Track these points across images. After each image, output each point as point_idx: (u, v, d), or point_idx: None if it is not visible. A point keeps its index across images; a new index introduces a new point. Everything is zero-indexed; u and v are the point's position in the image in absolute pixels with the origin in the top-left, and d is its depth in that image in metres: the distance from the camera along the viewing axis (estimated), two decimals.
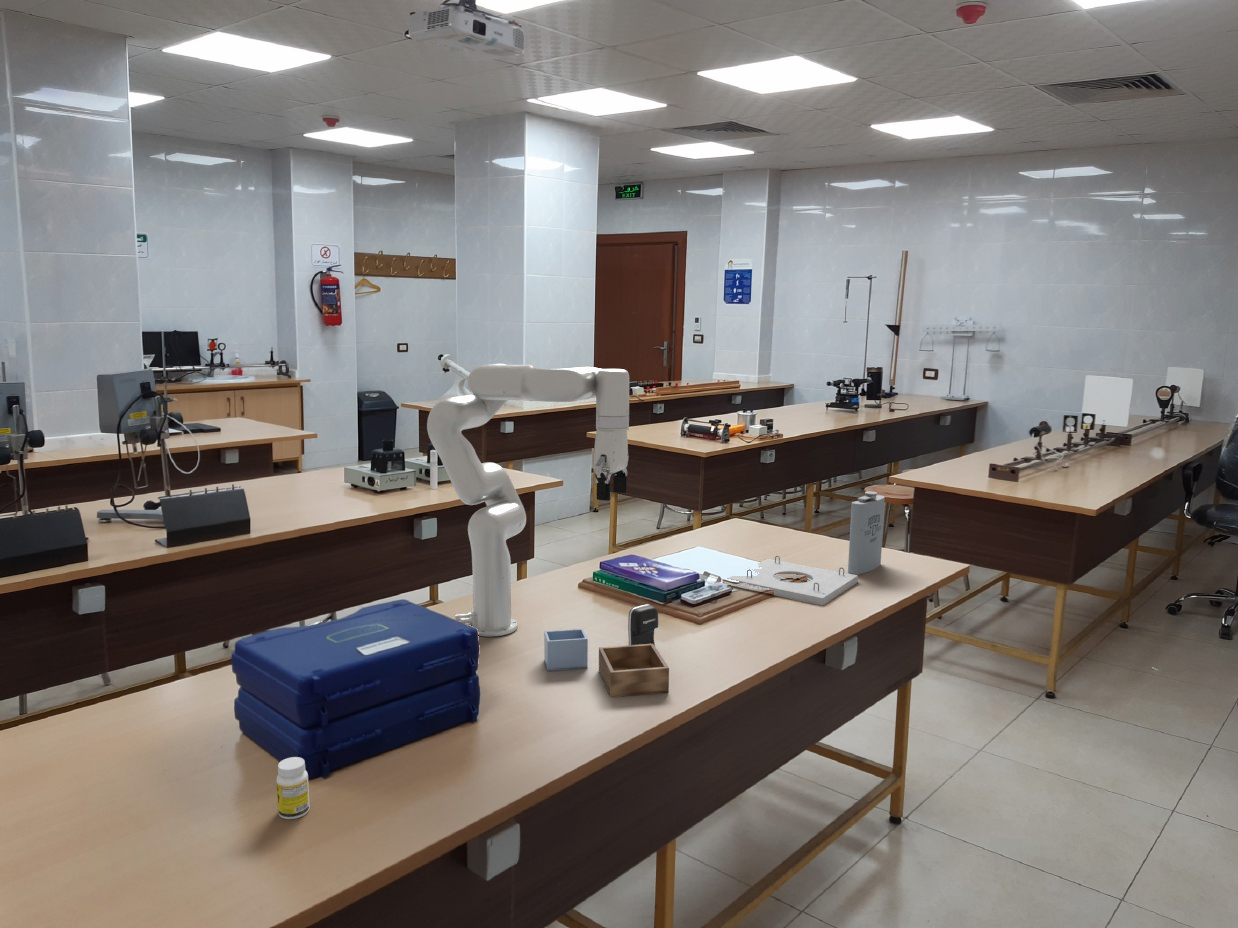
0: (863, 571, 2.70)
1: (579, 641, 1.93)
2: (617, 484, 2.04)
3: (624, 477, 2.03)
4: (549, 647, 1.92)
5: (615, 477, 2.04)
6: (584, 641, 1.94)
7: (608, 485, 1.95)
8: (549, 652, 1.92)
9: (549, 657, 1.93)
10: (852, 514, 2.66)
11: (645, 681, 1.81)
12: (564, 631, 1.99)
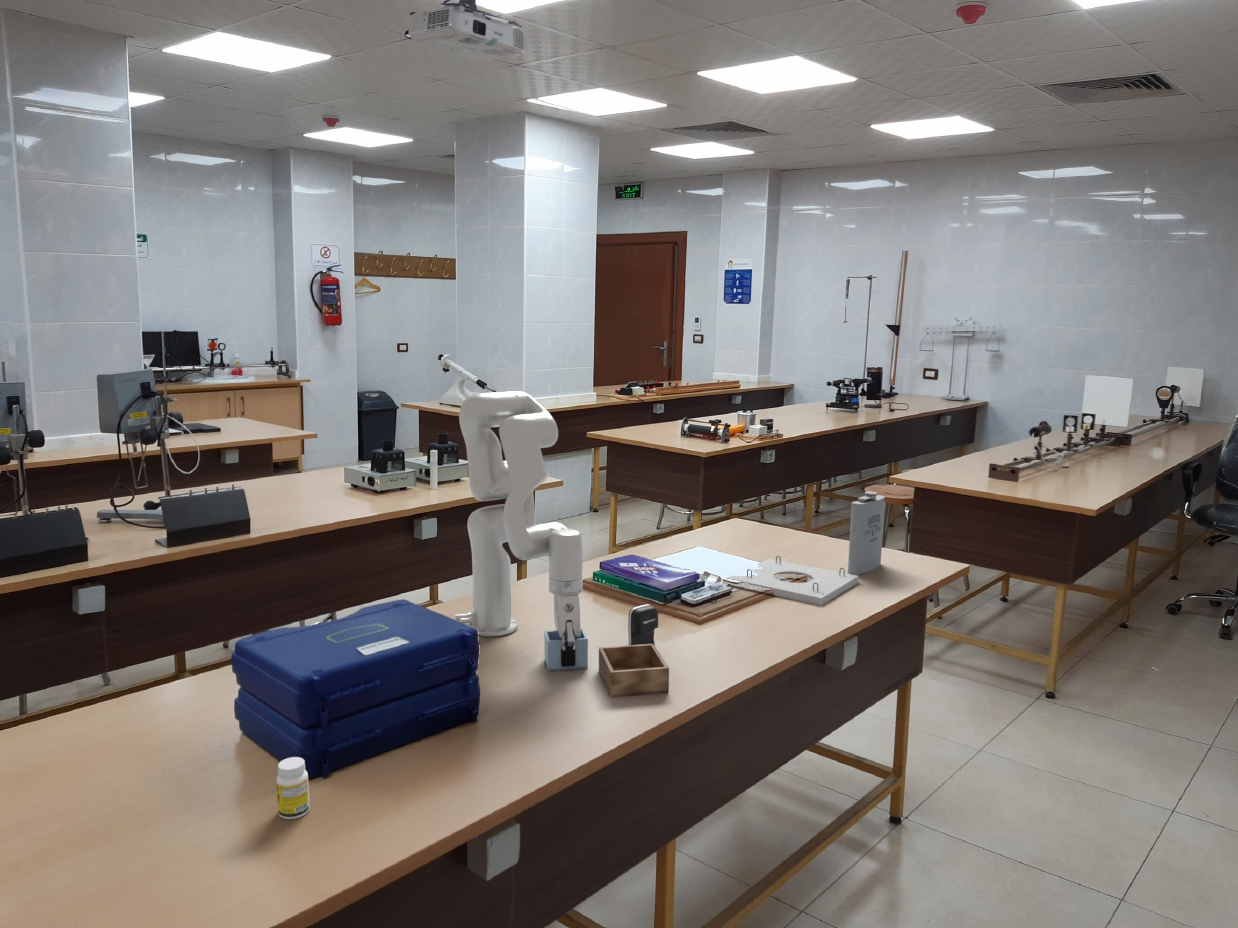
0: (863, 571, 2.70)
1: (579, 641, 1.93)
2: None
3: None
4: (549, 647, 1.92)
5: None
6: (584, 641, 1.94)
7: None
8: (549, 652, 1.92)
9: (549, 657, 1.92)
10: (852, 514, 2.66)
11: (645, 681, 1.81)
12: None
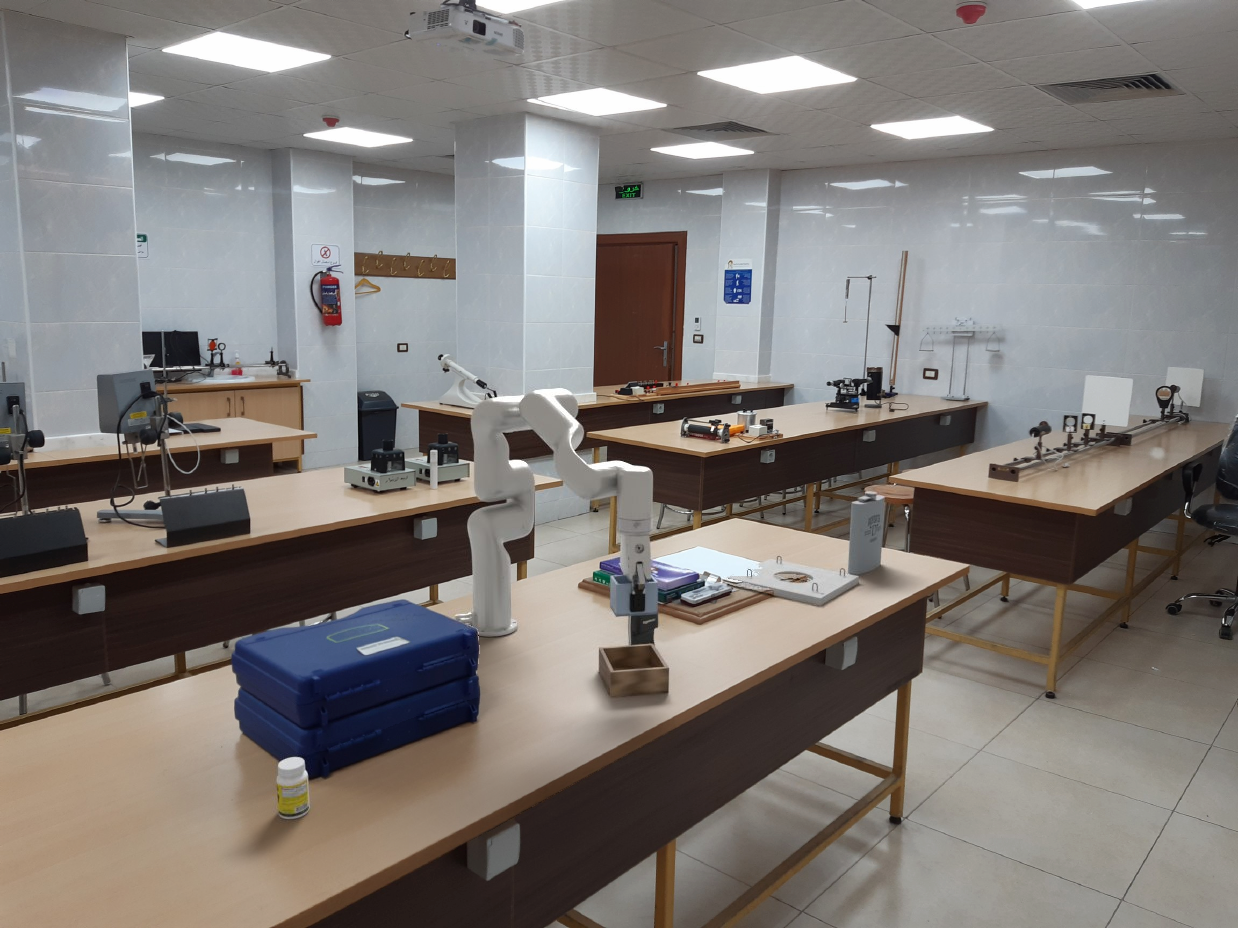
0: (863, 571, 2.70)
1: (649, 585, 1.82)
2: None
3: None
4: (618, 591, 1.80)
5: None
6: (654, 585, 1.82)
7: None
8: (617, 596, 1.81)
9: (617, 602, 1.81)
10: (852, 514, 2.66)
11: (645, 681, 1.81)
12: None
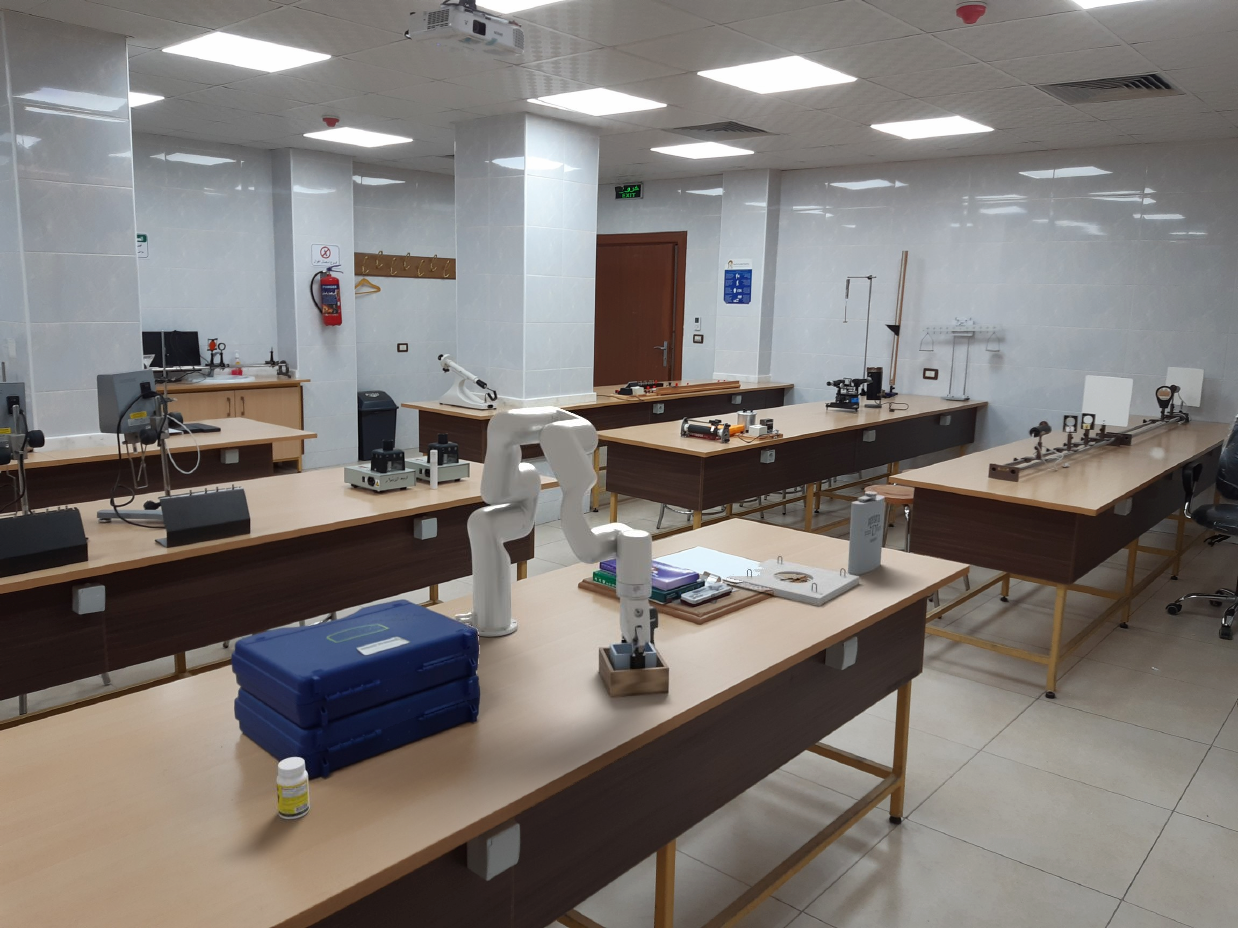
0: (863, 571, 2.70)
1: (648, 655, 1.84)
2: None
3: None
4: (617, 661, 1.83)
5: None
6: (653, 655, 1.85)
7: None
8: (617, 666, 1.83)
9: None
10: (852, 514, 2.66)
11: (645, 681, 1.81)
12: None
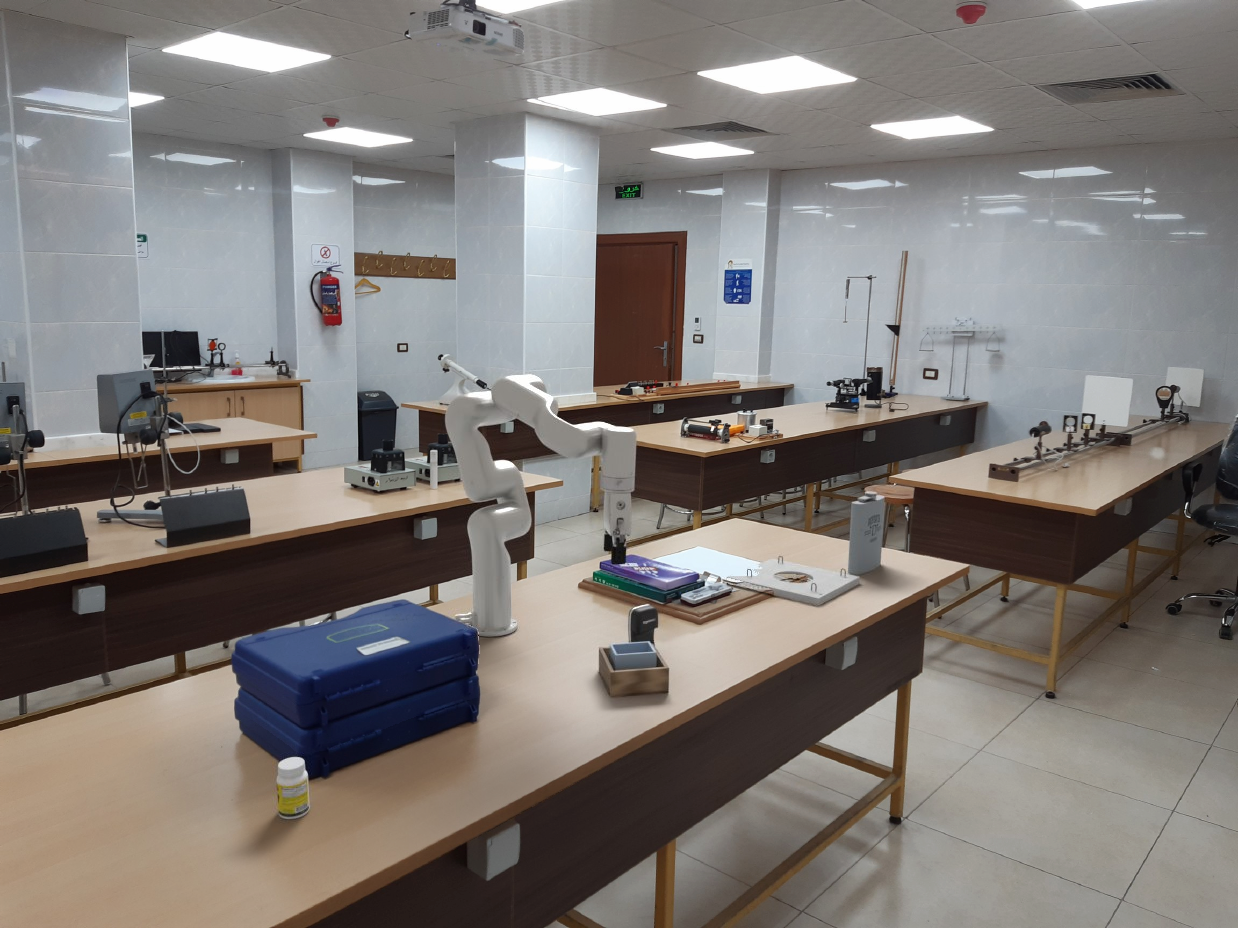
0: (863, 571, 2.70)
1: (648, 655, 1.84)
2: None
3: None
4: (617, 661, 1.83)
5: None
6: (653, 655, 1.85)
7: None
8: (617, 666, 1.83)
9: None
10: (852, 514, 2.66)
11: (645, 681, 1.81)
12: (630, 644, 1.90)
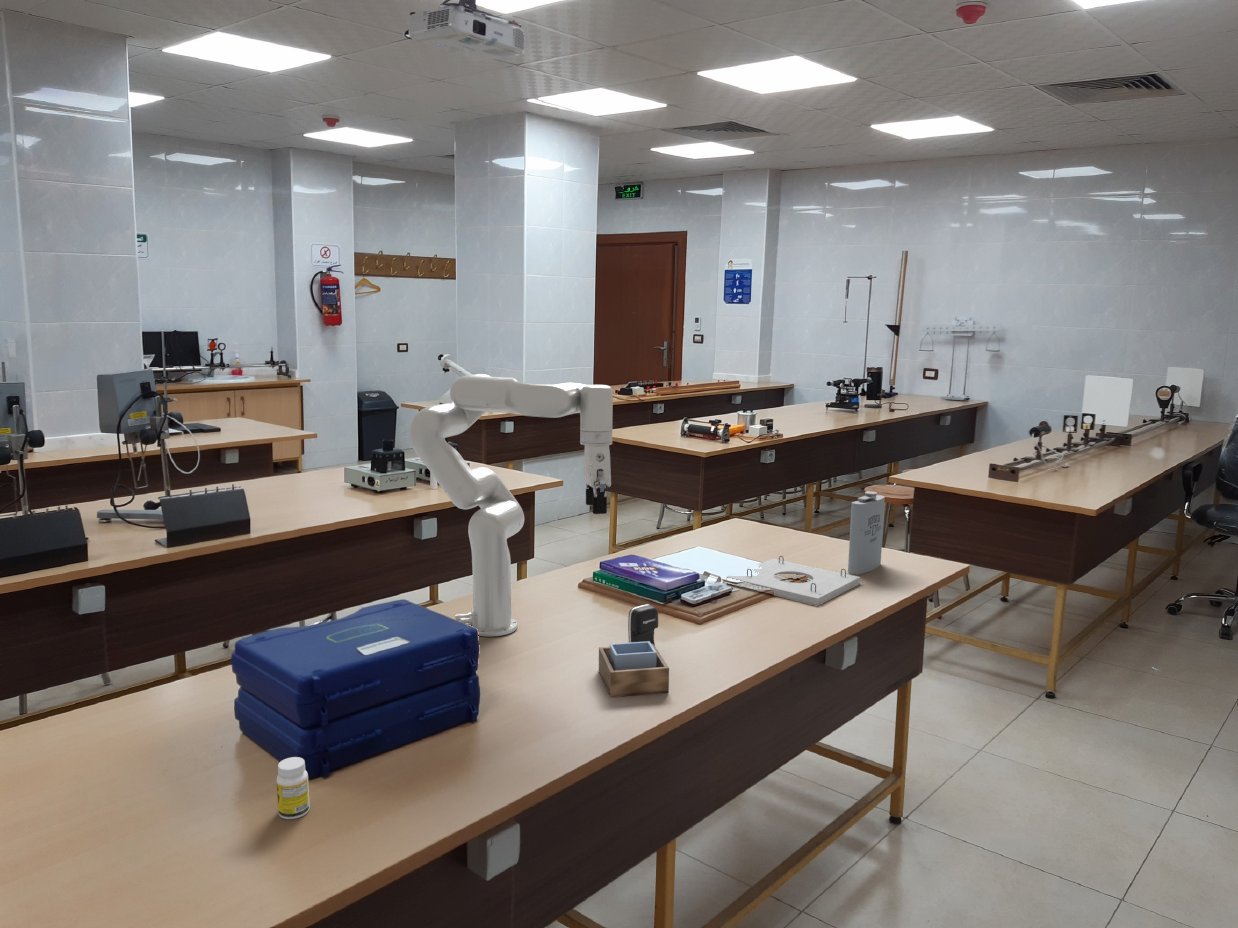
0: (863, 571, 2.70)
1: (648, 655, 1.84)
2: None
3: None
4: (617, 661, 1.83)
5: None
6: (653, 655, 1.85)
7: None
8: (617, 666, 1.83)
9: None
10: (852, 514, 2.66)
11: (645, 681, 1.81)
12: (630, 644, 1.90)
